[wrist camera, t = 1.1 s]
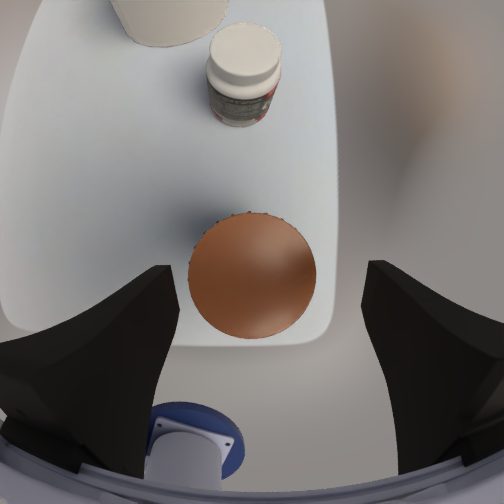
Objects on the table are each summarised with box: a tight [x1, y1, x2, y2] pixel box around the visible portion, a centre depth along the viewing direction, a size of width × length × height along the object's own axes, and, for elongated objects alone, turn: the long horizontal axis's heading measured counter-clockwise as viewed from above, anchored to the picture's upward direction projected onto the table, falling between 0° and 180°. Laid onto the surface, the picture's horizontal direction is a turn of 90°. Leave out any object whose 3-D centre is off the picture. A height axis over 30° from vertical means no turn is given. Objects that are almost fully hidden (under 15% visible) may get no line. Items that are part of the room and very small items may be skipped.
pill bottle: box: [206, 23, 281, 127], centre depth 18 cm, size 5×5×8 cm
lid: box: [188, 211, 316, 339], centre depth 14 cm, size 6×6×2 cm
